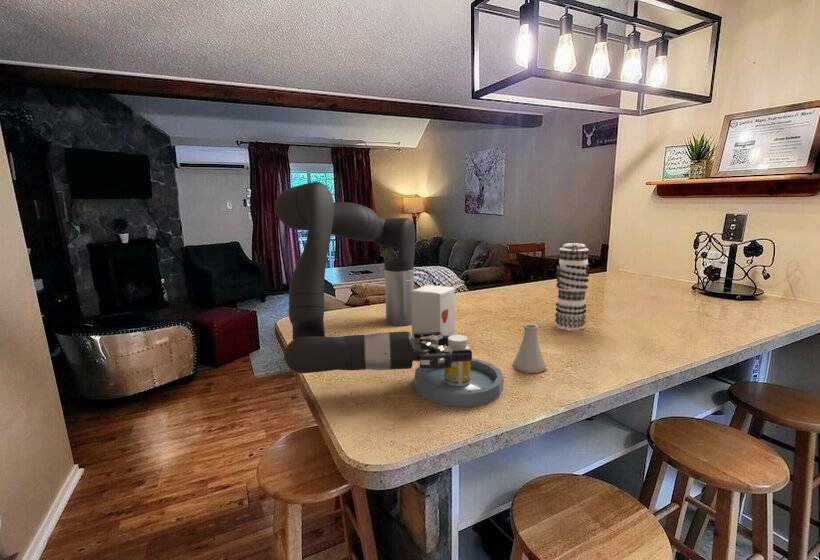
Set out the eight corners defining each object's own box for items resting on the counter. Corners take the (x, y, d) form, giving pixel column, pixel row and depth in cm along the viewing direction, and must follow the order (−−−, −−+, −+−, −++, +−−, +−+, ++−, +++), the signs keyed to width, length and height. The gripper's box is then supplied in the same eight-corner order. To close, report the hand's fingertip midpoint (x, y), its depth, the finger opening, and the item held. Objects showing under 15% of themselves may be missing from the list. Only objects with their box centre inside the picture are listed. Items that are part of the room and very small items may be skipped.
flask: (552, 371, 89) (554, 328, 87) (523, 376, 87) (525, 332, 85) (534, 360, 96) (536, 320, 94) (507, 363, 94) (508, 322, 92)
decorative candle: (593, 327, 119) (598, 243, 115) (573, 333, 114) (578, 246, 110) (566, 320, 127) (571, 241, 122) (547, 325, 122) (551, 243, 117)
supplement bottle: (447, 388, 80) (446, 342, 79) (442, 377, 86) (442, 334, 84) (473, 386, 81) (473, 341, 79) (467, 375, 86) (467, 333, 84)
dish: (434, 363, 95) (434, 352, 95) (510, 375, 87) (510, 364, 87) (400, 395, 79) (400, 383, 79) (489, 414, 72) (489, 401, 71)
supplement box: (440, 349, 104) (439, 293, 101) (411, 343, 109) (410, 290, 106) (455, 339, 112) (455, 286, 109) (428, 334, 116) (427, 284, 113)
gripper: (388, 345, 73) (475, 341, 74) (386, 322, 87) (460, 319, 88) (389, 383, 75) (474, 379, 76) (388, 355, 89) (460, 351, 90)
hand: (466, 347), depth 82 cm, fingers open, 8 cm apart
